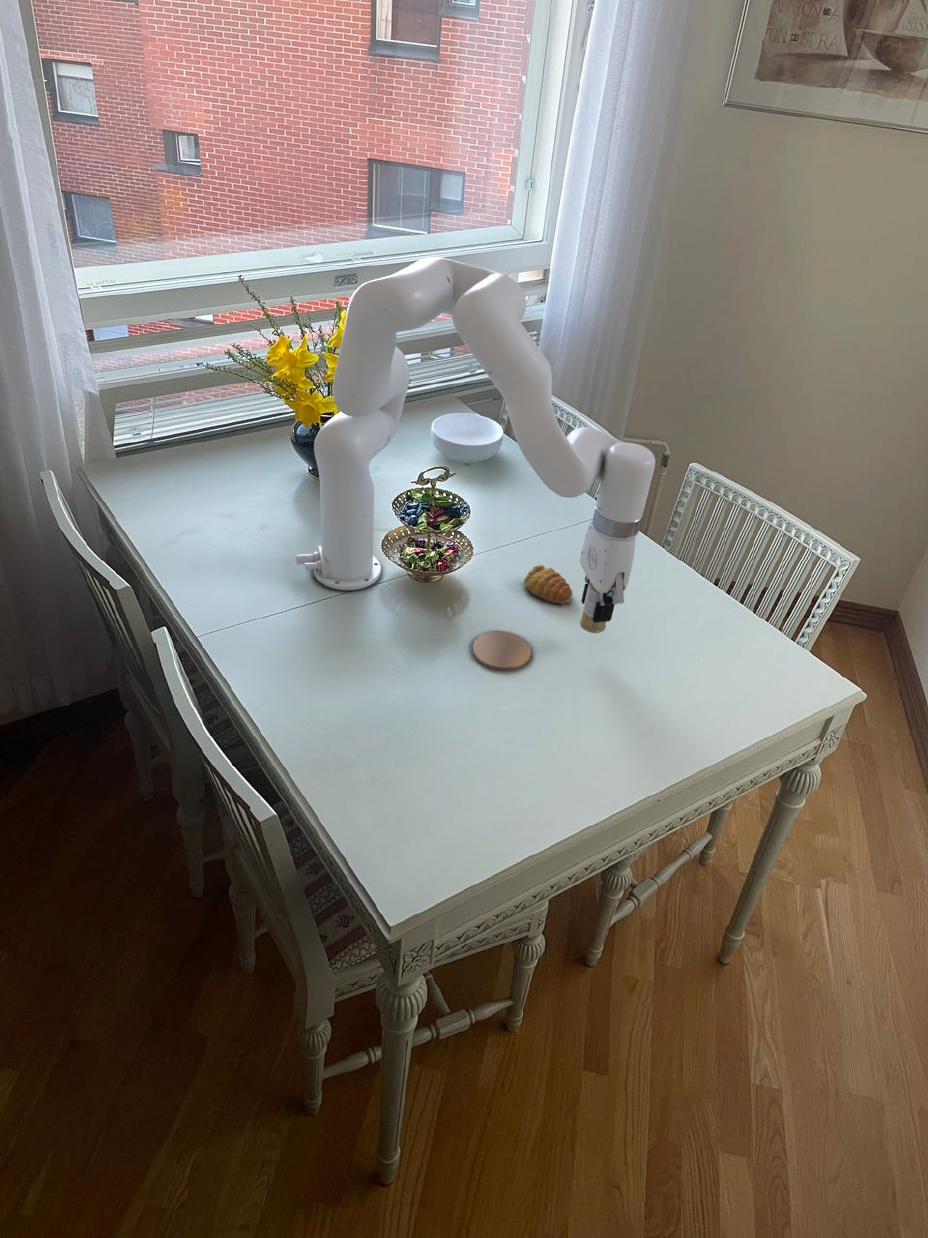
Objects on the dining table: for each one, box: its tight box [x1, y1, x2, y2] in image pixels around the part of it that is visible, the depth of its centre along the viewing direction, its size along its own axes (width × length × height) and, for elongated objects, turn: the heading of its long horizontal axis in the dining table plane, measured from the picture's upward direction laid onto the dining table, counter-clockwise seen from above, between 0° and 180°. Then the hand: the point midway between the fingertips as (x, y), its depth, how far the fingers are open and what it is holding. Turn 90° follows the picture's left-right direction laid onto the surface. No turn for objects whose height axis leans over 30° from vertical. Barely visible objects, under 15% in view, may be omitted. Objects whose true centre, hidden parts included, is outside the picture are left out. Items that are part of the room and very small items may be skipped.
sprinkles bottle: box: [579, 581, 612, 634], centre depth 156 cm, size 5×5×13 cm
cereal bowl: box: [430, 412, 504, 464], centre depth 215 cm, size 17×17×7 cm
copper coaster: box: [472, 630, 532, 671], centre depth 160 cm, size 10×10×1 cm
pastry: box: [523, 564, 573, 605], centre depth 174 cm, size 9×7×4 cm
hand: (595, 610), depth 158 cm, fingers closed on sprinkles bottle, 4 cm apart
